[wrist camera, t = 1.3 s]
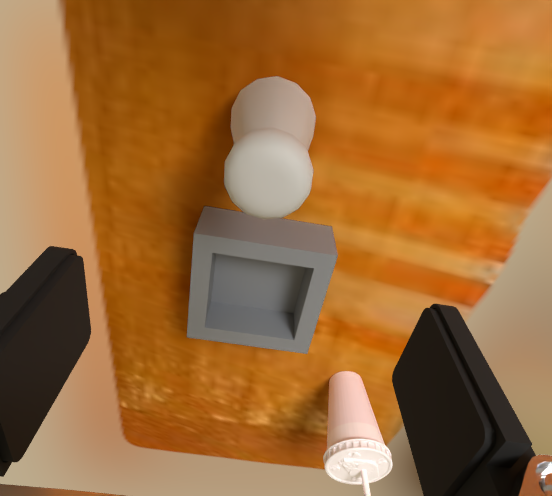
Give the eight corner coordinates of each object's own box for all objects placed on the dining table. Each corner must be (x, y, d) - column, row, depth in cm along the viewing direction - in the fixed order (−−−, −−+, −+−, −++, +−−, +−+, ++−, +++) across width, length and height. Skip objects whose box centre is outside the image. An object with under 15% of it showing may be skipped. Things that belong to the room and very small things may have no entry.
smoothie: (350, 406, 47) (372, 542, 35) (306, 387, 45) (313, 524, 34) (385, 376, 44) (421, 515, 32) (339, 354, 42) (360, 493, 31)
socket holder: (204, 205, 33) (193, 233, 29) (331, 226, 34) (337, 255, 30) (196, 304, 39) (186, 337, 35) (305, 319, 40) (307, 353, 36)
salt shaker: (225, 137, 30) (190, 219, 19) (246, 58, 27) (219, 102, 16) (297, 161, 31) (304, 252, 20) (326, 87, 28) (351, 147, 17)
